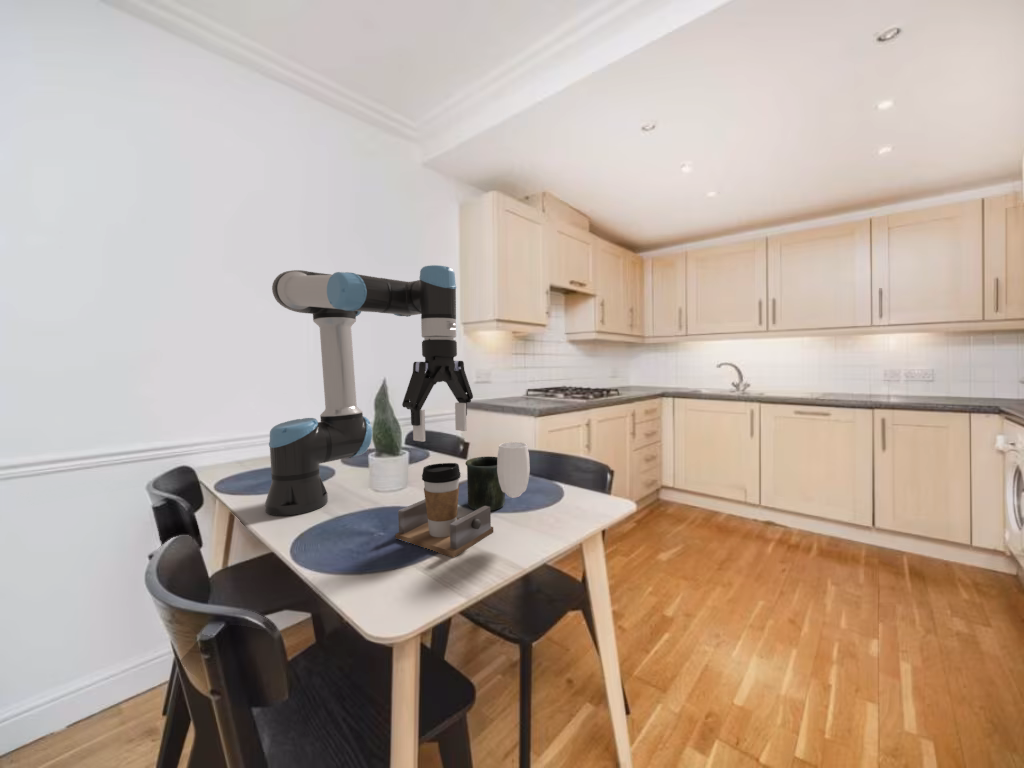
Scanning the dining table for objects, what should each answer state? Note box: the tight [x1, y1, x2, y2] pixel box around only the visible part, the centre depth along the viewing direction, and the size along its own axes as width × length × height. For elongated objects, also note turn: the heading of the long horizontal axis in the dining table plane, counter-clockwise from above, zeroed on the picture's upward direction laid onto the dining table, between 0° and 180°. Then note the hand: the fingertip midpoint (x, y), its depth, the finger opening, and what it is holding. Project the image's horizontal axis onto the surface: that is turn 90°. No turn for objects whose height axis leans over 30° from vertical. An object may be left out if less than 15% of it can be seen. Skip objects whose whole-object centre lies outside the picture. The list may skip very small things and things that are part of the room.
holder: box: [395, 498, 494, 558], centre depth 93 cm, size 19×14×6 cm
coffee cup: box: [421, 462, 461, 537], centre depth 92 cm, size 8×8×15 cm
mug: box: [465, 456, 506, 512], centre depth 113 cm, size 11×15×12 cm
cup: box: [496, 441, 531, 499], centre depth 91 cm, size 7×7×21 cm
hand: (441, 435), depth 92 cm, fingers open, 13 cm apart
